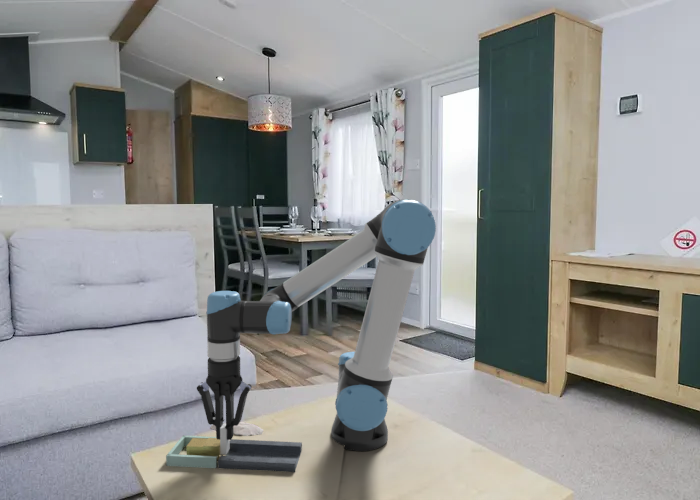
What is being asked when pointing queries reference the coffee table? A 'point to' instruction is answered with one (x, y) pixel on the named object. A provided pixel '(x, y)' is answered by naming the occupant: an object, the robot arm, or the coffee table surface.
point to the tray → (189, 460)
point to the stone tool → (244, 429)
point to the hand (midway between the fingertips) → (225, 451)
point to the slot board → (261, 455)
